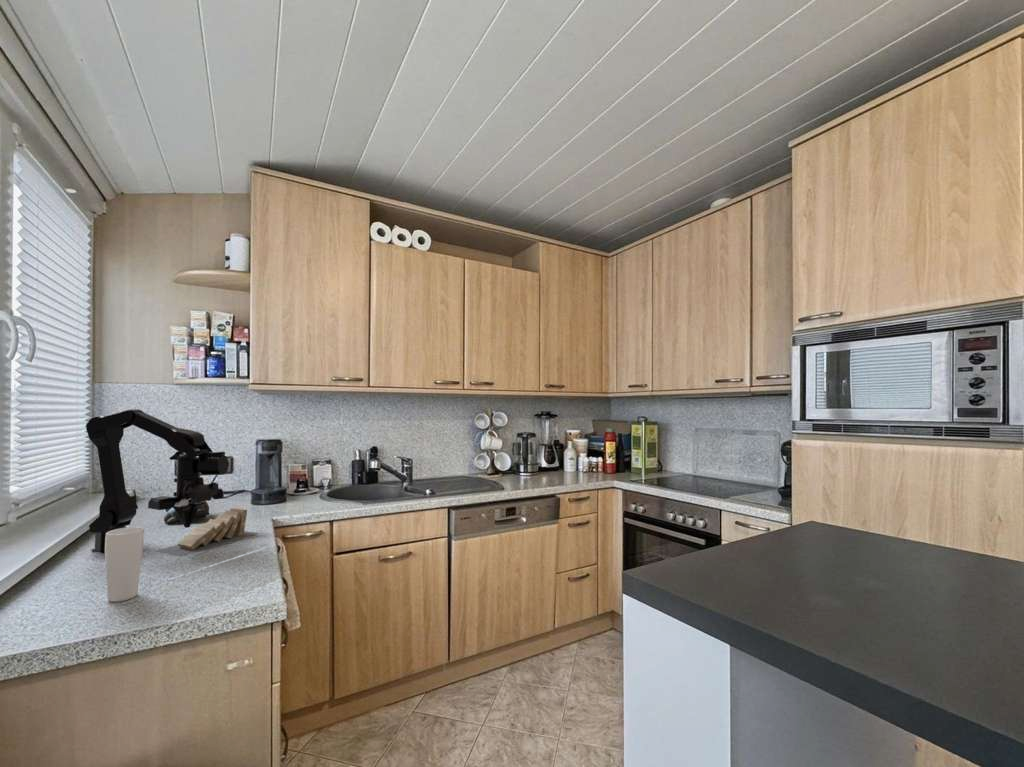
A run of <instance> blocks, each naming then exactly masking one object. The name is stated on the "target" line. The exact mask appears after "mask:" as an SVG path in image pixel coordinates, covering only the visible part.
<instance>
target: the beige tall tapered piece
mask: <svg viewBox="0 0 1024 767" xmlns="http://www.w3.org/2000/svg"><path fill="white" fill-rule="evenodd" d="M125 527H126V528H119V529H115V530H111V531H109V532H107V533H106V537H105V553H104V560H105V571H106V585H107V586H106V589H107V599H106V600H107V601H109V602H111V603H119V602H125V601H127V600H131V599H134V598H135V597H137V595H138V594H139V584H140V583H139V582H140V576H141V575H140V574H141V567H142V561H143V559H142V558H143V552H144V551H143V550H144V545H145V544H144V542H145V539H144V538H145V536H144V535H145V533H144V532H145V530H144V527H142V526H125Z"/></svg>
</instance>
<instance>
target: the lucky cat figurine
mask: <svg viewBox="0 0 1024 767" xmlns="http://www.w3.org/2000/svg"><path fill="white" fill-rule="evenodd" d="M171 497H176V496H174V493H173V495H172V496H171ZM203 502H206V503H205V504H203V505H202V506H200V507H199V508H198V510H197V512H196V513H195V516H194V518H193V519H195V518H196V519H197V518H206V516H208V515H210V506H209V503H208V501H203ZM164 510H165V514H164V515H163V521H164V523H165V524H167V525H169V524H172V523H174V522H178V521H181V519H180V517H179V515H178V514H177V512H176V511H175V509H174V508H169V509H164Z"/></svg>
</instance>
